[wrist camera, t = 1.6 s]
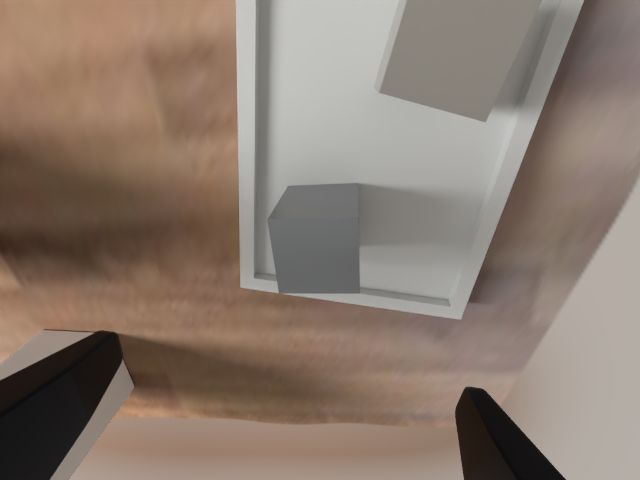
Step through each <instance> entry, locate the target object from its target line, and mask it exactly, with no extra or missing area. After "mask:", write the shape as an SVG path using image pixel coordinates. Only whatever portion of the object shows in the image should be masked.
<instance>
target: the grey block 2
mask: <svg viewBox="0 0 640 480" xmlns="http://www.w3.org/2000/svg"><path fill="white" fill-rule="evenodd" d="M541 1H542V0H399V2H398V5H397V9H396V12H395V16H394V19H393V22H392V26H391V29H390V33H389V36H388V40H387V43H386V46H385V50H384V53H383V57H382V60H381V64H380V67H379V70H378V74H377V77H376V81H375V84H374V88H375V89H376V90H377V91H378V92H379V93H381V94H385V95H388V96H392V97H396V98H399V99H403V100H407V101H410V102H414V103H417V104H421V105H425V106H428V107H432V108H436V109H439V110H443V111H446V112H450V113H454V114H457V115H461V116H465V117H468V118H472V119H475V120H479V121H483V122H486V121H487V119H488V116H489V114H490V112H491V110H492V108H493V106H494V103H495V101H496V99H497V97H498V95H499V93H500V90H501V88H502V86H503V84H504V82H505V80H506V77H507V75H508V73H509V71H510V69H511V66H512V64H513V62H514V60H515V58H516V56H517V53H518V51H519V49H520V47H521V45H522V43H523V40H524V38H525V36H526V34H527V32H528V30H529V27H530V25H531V23H532V21H533V19H534V17H535V14H536V12H537V10H538V8H539V6H540V4H541Z"/></svg>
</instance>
